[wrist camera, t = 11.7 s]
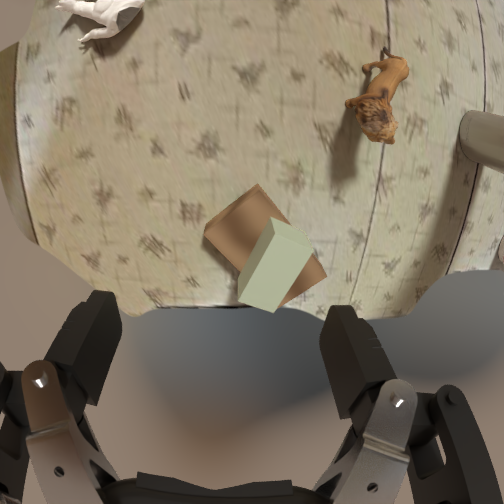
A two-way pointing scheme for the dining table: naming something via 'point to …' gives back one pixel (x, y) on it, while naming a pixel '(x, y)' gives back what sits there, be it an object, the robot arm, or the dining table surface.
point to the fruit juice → (501, 251)
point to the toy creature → (104, 14)
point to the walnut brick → (255, 236)
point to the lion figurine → (380, 99)
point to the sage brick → (273, 265)
